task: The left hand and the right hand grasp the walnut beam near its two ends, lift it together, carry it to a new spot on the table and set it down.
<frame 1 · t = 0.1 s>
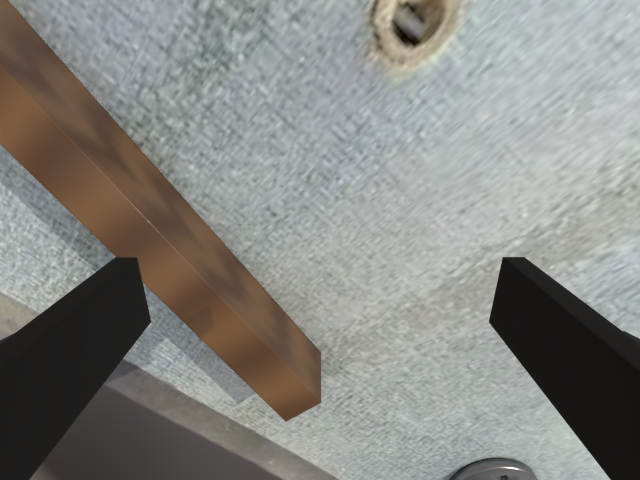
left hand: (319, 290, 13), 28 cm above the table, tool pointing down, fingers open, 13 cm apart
beam: (171, 215, 41), on the table
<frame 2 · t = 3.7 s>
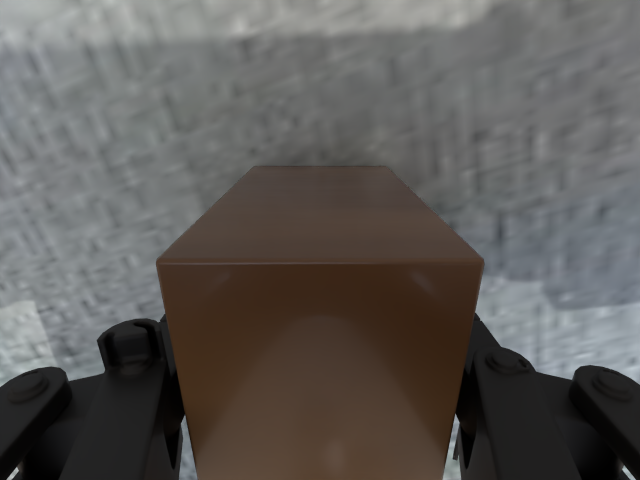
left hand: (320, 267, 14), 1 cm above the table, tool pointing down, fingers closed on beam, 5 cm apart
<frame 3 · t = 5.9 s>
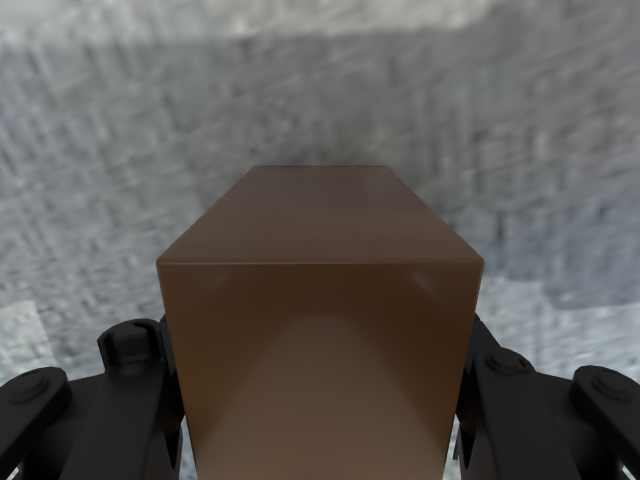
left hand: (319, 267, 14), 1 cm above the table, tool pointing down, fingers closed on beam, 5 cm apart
when the left hand's fingers open (2 cm above the table, at t = 11.6 s): beam drops 1 cm, on the table.
when the right hand's fingers open (2 cm above the table, at t = 11.6 s): beam drops 1 cm, on the table.
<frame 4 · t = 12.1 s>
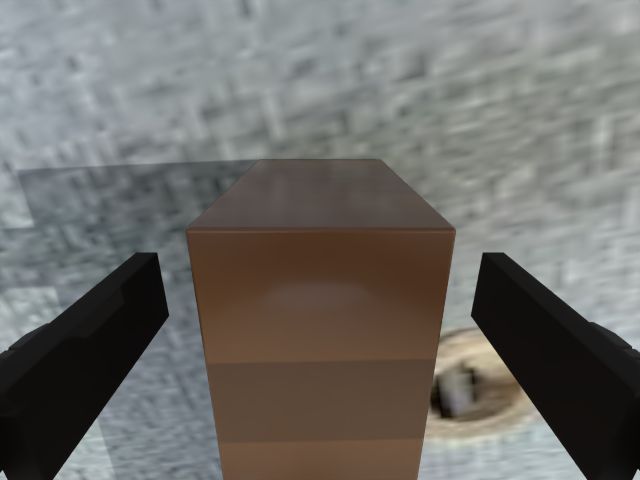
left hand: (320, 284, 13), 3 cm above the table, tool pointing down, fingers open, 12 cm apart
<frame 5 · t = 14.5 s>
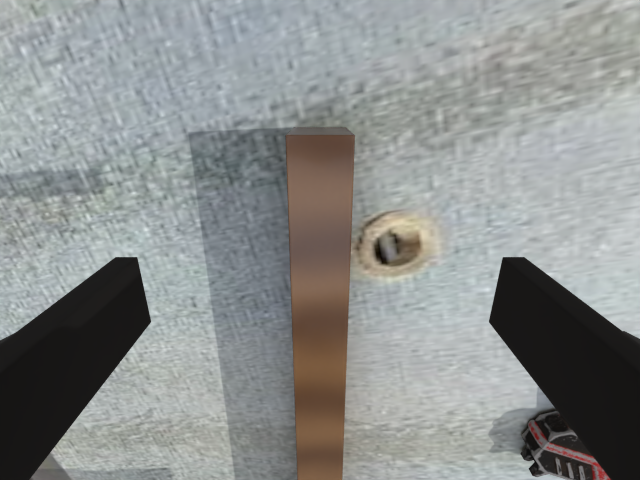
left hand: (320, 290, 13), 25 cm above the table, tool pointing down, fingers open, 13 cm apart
beam: (319, 347, 44), on the table
gun: (633, 431, 49), on the table
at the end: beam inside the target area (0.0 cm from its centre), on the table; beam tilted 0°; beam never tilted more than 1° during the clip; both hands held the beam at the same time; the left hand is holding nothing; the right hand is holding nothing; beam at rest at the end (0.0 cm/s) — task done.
